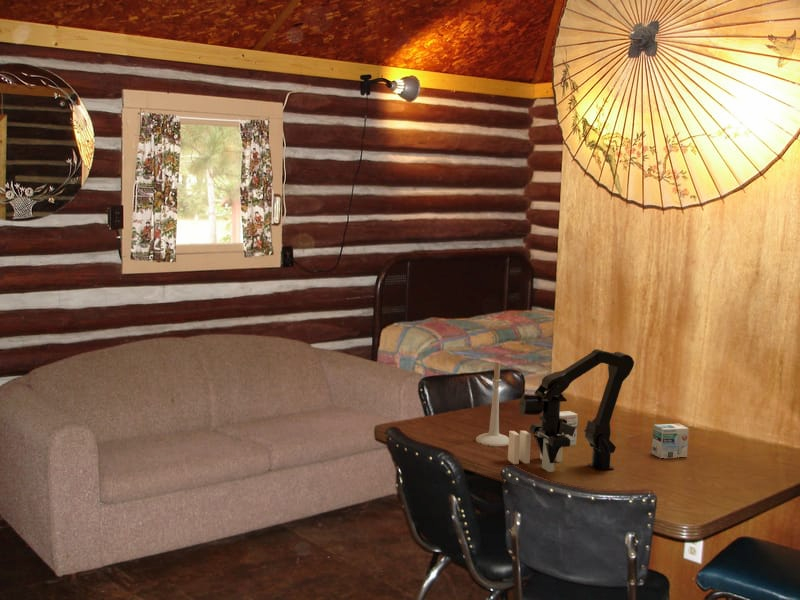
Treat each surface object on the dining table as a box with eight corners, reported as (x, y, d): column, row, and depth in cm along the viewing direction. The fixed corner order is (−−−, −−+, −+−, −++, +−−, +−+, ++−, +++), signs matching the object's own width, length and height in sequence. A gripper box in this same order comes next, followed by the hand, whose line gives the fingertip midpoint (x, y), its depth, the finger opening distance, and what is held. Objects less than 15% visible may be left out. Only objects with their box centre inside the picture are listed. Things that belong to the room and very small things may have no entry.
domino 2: (529, 463, 302) (531, 434, 301) (524, 463, 302) (526, 434, 301) (523, 458, 307) (525, 430, 306) (518, 459, 307) (520, 430, 305)
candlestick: (470, 437, 332) (474, 357, 328) (501, 435, 336) (505, 356, 333) (485, 447, 320) (489, 364, 316) (517, 444, 324) (521, 363, 321)
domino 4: (561, 461, 306) (563, 433, 305) (557, 461, 305) (558, 433, 304) (555, 457, 311) (557, 429, 309) (550, 457, 310) (552, 429, 309)
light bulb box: (660, 459, 313) (663, 429, 312) (650, 453, 320) (652, 424, 319) (687, 457, 316) (690, 428, 315) (677, 452, 323) (679, 423, 321)
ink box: (557, 447, 323) (559, 415, 322) (549, 443, 327) (551, 412, 326) (576, 445, 327) (578, 413, 326) (568, 441, 331) (570, 410, 330)
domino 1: (518, 463, 301) (520, 434, 300) (513, 464, 301) (515, 435, 300) (512, 459, 306) (514, 430, 305) (507, 459, 306) (509, 431, 304)
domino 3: (553, 471, 294) (555, 442, 293) (548, 472, 293) (550, 442, 292) (546, 467, 299) (548, 437, 298) (541, 467, 298) (543, 438, 297)
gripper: (586, 420, 287) (583, 467, 289) (560, 406, 305) (557, 451, 307) (554, 421, 284) (552, 469, 286) (530, 407, 302) (527, 452, 304)
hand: (548, 460), depth 296 cm, fingers closed on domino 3, 5 cm apart
